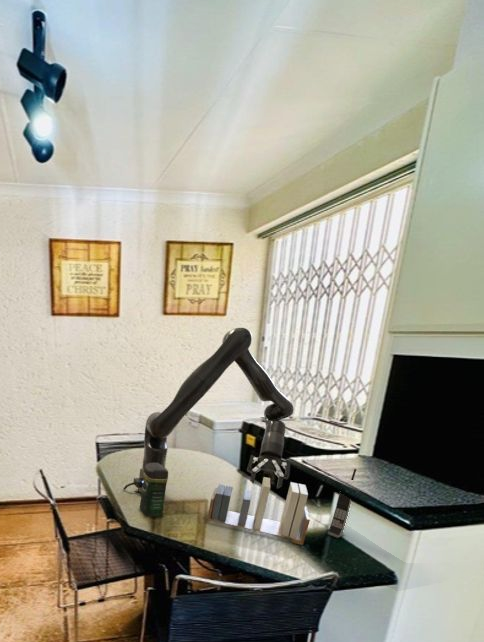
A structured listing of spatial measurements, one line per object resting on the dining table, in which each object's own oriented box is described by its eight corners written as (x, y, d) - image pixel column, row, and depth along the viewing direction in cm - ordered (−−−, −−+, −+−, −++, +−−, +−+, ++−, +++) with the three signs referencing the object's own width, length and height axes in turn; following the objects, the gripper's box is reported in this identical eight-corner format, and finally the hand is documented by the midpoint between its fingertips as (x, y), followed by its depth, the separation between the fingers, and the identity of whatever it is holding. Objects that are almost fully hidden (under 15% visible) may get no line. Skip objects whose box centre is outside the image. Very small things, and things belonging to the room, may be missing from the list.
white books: (281, 534, 132) (292, 491, 127) (280, 523, 141) (290, 482, 136) (296, 538, 131) (308, 494, 126) (294, 526, 140) (305, 484, 135)
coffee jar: (165, 518, 140) (172, 469, 134) (144, 518, 139) (150, 469, 132) (156, 506, 149) (162, 460, 143) (137, 507, 147) (142, 460, 141)
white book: (253, 528, 135) (263, 485, 130) (254, 517, 144) (263, 476, 139) (260, 530, 135) (270, 487, 129) (260, 518, 144) (270, 478, 138)
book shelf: (206, 522, 140) (211, 498, 137) (210, 510, 150) (215, 487, 147) (302, 545, 130) (310, 519, 127) (300, 530, 141) (306, 506, 137)
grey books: (211, 518, 140) (215, 493, 136) (214, 508, 149) (218, 484, 145) (245, 526, 136) (250, 500, 133) (246, 515, 145) (251, 490, 142)
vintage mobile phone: (327, 534, 139) (346, 468, 131) (331, 530, 142) (351, 466, 134) (338, 538, 137) (359, 472, 128) (342, 534, 140) (363, 469, 132)
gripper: (253, 437, 143) (245, 476, 137) (295, 444, 139) (289, 484, 132) (251, 448, 150) (243, 485, 143) (290, 455, 145) (284, 493, 139)
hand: (265, 485), depth 138 cm, fingers open, 8 cm apart
